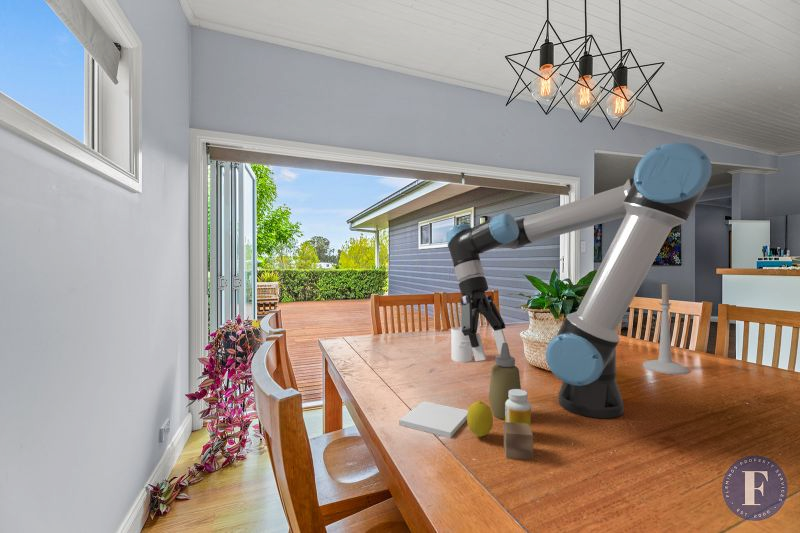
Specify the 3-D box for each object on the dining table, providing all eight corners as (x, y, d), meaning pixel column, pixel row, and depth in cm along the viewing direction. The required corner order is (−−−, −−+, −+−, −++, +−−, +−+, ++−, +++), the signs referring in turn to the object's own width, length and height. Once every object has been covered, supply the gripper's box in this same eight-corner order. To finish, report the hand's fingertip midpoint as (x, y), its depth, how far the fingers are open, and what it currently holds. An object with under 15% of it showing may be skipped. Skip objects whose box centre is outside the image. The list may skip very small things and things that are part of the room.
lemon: (493, 444, 77) (493, 406, 77) (466, 442, 78) (466, 405, 78) (492, 432, 82) (492, 397, 82) (467, 430, 84) (467, 395, 83)
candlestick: (636, 362, 135) (636, 281, 135) (674, 364, 133) (674, 281, 133) (655, 373, 123) (655, 284, 122) (697, 375, 121) (697, 284, 120)
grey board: (470, 415, 91) (470, 410, 91) (450, 437, 80) (450, 432, 80) (423, 405, 98) (423, 401, 98) (398, 424, 86) (398, 419, 86)
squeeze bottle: (486, 419, 89) (485, 345, 89) (491, 406, 97) (490, 338, 96) (521, 424, 86) (521, 348, 86) (523, 411, 94) (523, 341, 93)
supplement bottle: (500, 431, 83) (500, 389, 82) (519, 427, 85) (519, 386, 84) (515, 442, 78) (515, 397, 77) (536, 438, 79) (536, 394, 79)
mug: (485, 360, 141) (485, 329, 140) (457, 363, 137) (457, 331, 136) (474, 355, 148) (474, 325, 148) (447, 358, 144) (447, 327, 144)
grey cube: (528, 447, 76) (528, 423, 76) (533, 460, 71) (532, 435, 71) (503, 445, 77) (503, 422, 77) (506, 458, 72) (506, 433, 72)
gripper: (480, 284, 113) (500, 353, 107) (435, 282, 93) (456, 366, 88) (502, 276, 108) (524, 348, 103) (459, 272, 89) (483, 360, 84)
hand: (493, 357), depth 95 cm, fingers open, 13 cm apart
